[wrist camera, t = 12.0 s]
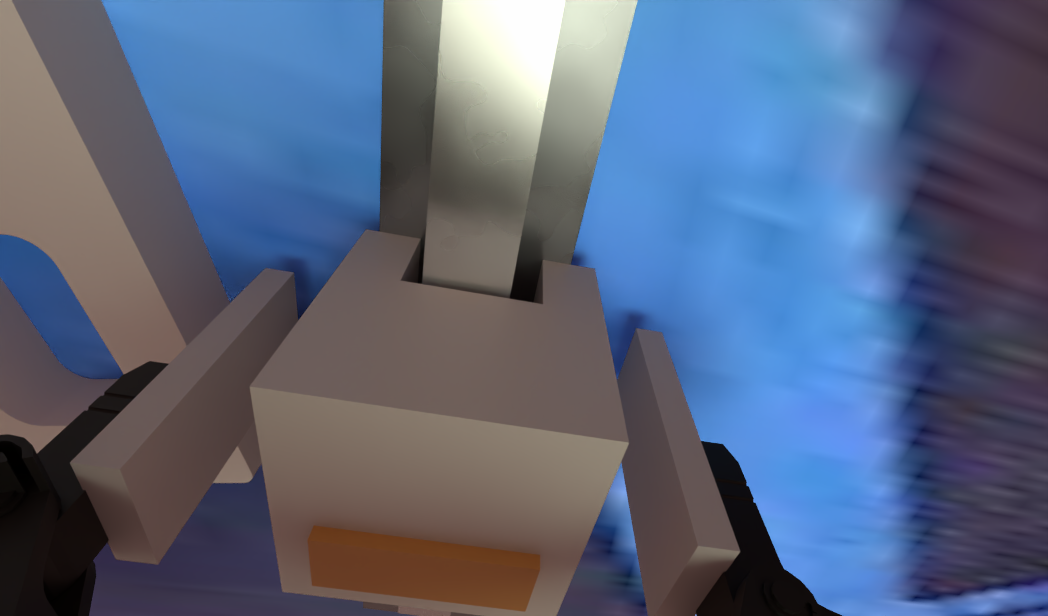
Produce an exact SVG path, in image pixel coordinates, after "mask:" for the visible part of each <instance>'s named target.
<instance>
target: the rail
mask: <svg viewBox="0 0 1048 616" xmlns="http://www.w3.org/2000/svg"><path fill="white" fill-rule="evenodd" d="M637 1H638V0H384V21H383V75H382V129H381V182H380V232H385V233H390V234H396V235H402V236H408V237H414V238H419V239H421V242H420V257H419V271H418V284H424V285H430V286H436V287H442V288H448V289H454V290H460V291H466V292H472V293H478V294H484V295H491V296H497V297H503V298H509V299H515V300H521V301H527V302H533V301H534V297H535V292H536V288H537V283H538V279H539V274H540V270H541V265H542V261H543V260H547V261H552V262H558V263H564V264H570V265H571V261H572V257H573V253H574V249H575V245H576V241H577V237H578V233H579V229H580V225H581V221H582V217H583V213H584V210H585V206H586V202H587V198H588V194H589V190H590V186H591V182H592V178H593V174H594V170H595V166H596V162H597V158H598V154H599V150H600V146H601V143H602V139H603V135H604V131H605V127H606V123H607V119H608V115H609V111H610V107H611V103H612V99H613V95H614V91H615V87H616V83H617V79H618V76H619V72H620V68H621V64H622V60H623V56H624V52H625V48H626V44H627V40H628V36H629V32H630V28H631V24H632V20H633V16H634V12H635V9H636V5H637ZM363 608H368V609H377V610H385V611H394V612H398V613H401V614H410V615H418V616H480V615H472V614H464V613H455V612H447V611H439V610H430V609H422V608H414V607H406V606H397V605H389V604H381V603H372V602H364V601H363Z"/></svg>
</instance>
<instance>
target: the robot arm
mask: <svg viewBox="0 0 1048 616" xmlns="http://www.w3.org/2000/svg"><path fill="white" fill-rule="evenodd" d="M297 322H298V312H297V301H296V289H295V278H294V272H288V271H282V270H275V269H269V268H265V269H264V270H263V271H262V272H261V273H260V274H259V275H258V276H257V277H256V278H255V279H254V280H253V281H252V282H251V283H250V284H249V285H248V286H247V287H246V288H245V289H244V290H243V291H242V292H241V293H240V294H239V295H238V296H237V297H236V298H235V299H234V300H233V301H232V302H231V303H230V304H229V305H228V306H227V307H226V308H225V309H224V310H223V311H222V312H221V313H220V314H219V315H218V316H217V317H216V318H215V319H214V320H213V321H212V322H211V323H210V324H209V325H208V326H207V327H206V328H205V329H204V330H203V331H202V332H201V333H200V334H199V335H198V336H197V337H196V338H195V339H193V340H192V341H191V342H190V343H189V344H188V345H187V346H186V347H185V348H184V349H183V350H182V351H181V352H180V353H179V354H178V355H177V356H176V357H175V358H174V359H173V360H172V361H171V362H170V363H169V364H167V363H160V362H154V361H149V362H147V363H145V364H143V365H141V366H139V367H137V368H135V369H133V370H131V371H129V372H128V373H126V374H124V375H123V376H121V377H120V378H119V379H118V380H117V381H116V382H115V383H114V384H113V385H112V386H110V387H109V388H108V389H107V390H106V391H105V392H104V395H103V396H100V397H98V398H97V399H96V400H95V401H94V402H93V403H92V404H91V405H90V406H89V407H88V410H87V411H85V410H84V411H83V412H82V413H81V414H80V415H79V416H78V417H77V418H75V419H74V420H73V421H72V422H71V423H70V424H69V425H68V426H67V427H66V428H64V429H63V430H62V431H61V432H60V433H59V434H58V435H57V436H56V437H55V438H54V439H52V440H51V441H50V442H49V443H48V444H47V445H46V446H45V447H44V448H43V449H41V450H40V451H39V452H38V453H36V451H35V449H34V447H33V445H32V444H31V443H30V442H28V441H27V440H26V439H25V438H24V437H19V436H15V435H10V434H4V435H0V616H89V612H90V607H91V601H92V596H93V590H94V585H95V579H96V570H95V564H94V562H93V560H94V558H95V557H96V556H97V555H98V553H99V552H100V551H101V549H102V548H103V547H104V546H105V544H106V543H107V542H108V544H109V546H110V548H111V550H112V552H113V554H114V556H115V559H116V560H125V561H133V562H141V563H150V564H159V562H160V561H161V559H162V558H163V556H164V555H165V553H166V552H167V550H168V549H169V547H170V546H171V544H172V543H173V541H174V540H175V538H176V537H177V535H178V534H179V532H180V531H181V529H182V528H183V526H184V525H185V523H186V522H187V520H188V519H189V517H190V516H191V514H192V513H193V511H194V510H195V508H196V507H197V506H198V504H199V503H200V501H201V500H202V498H203V497H204V495H205V494H206V492H207V491H208V489H209V488H210V486H211V485H212V483H213V482H214V480H215V479H216V477H217V476H218V474H219V473H220V471H221V470H222V468H223V467H224V465H225V464H226V462H227V461H228V459H229V458H230V456H231V455H232V453H233V452H234V450H235V449H236V447H237V446H238V444H239V443H240V441H241V440H242V438H243V437H244V435H245V434H246V432H247V431H248V429H249V428H250V426H251V425H252V424H253V422H254V421H255V418H254V412H253V405H252V399H251V393H250V387H249V386H250V385H251V384H252V382H253V381H254V380H255V378H256V377H257V376H258V374H259V373H260V372H261V370H262V369H263V368H264V366H265V365H266V364H267V362H268V361H269V359H270V358H271V357H272V355H273V354H274V353H275V351H276V350H277V349H278V347H279V346H280V345H281V343H282V342H283V341H284V339H285V338H286V337H287V335H288V334H289V332H290V331H291V330H292V328H293V327H294V326H295V324H296V323H297ZM617 384H618V389H619V394H620V399H621V404H622V409H623V414H624V419H625V424H626V429H627V434H628V439H629V444H628V447H627V449H626V451H625V454H624V456H623V459H622V461H621V462H622V467H623V473H624V479H625V485H626V491H627V496H628V502H629V508H630V514H631V520H632V525H633V531H634V537H635V543H636V548H637V554H638V560H639V566H640V572H641V577H642V583H643V589H644V595H645V600H646V606H647V612H648V616H695V614H697V616H842V615H840V614H837V613H835V612H833V611H831V610H828V609H826V608H825V607H823V606H821V605H819V604H817V602H816V600H815V598H814V596H813V594H812V593H811V592H810V591H809V590H808V588H807V587H806V586H805V585H804V584H803V583H802V582H801V581H800V580H799V579H798V578H796V577H795V576H793V575H792V574H791V573H789V572H788V571H786V570H784V568H783V566H782V564H781V563H780V560H779V558H778V555H777V553H776V551H775V548H774V546H773V544H772V541H771V539H770V536H769V534H768V532H767V529H766V527H765V525H764V522H763V520H762V517H761V515H760V513H759V510H758V508H757V506H756V503H754V502H753V496H752V494H751V491H750V489H749V487H748V486H746V483H747V482H746V480H745V477H744V475H743V472H742V470H741V468H740V465H739V463H738V462H737V460H736V459H735V458H734V457H733V456H732V455H731V453H730V452H729V451H728V450H727V449H726V447H725V446H724V445H723V444H718V443H711V442H704V441H701V440H700V437H699V435H698V432H697V429H696V426H695V423H694V421H693V418H692V415H691V412H690V410H689V407H688V404H687V401H686V398H685V396H684V393H683V390H682V387H681V384H680V382H679V379H678V376H677V373H676V370H675V368H674V365H673V362H672V359H671V357H670V354H669V351H668V348H667V345H666V343H665V340H664V337H663V334H662V332H657V331H651V330H644V329H638V328H636V330H635V332H634V335H633V338H632V341H631V343H630V346H629V349H628V352H627V355H626V357H625V360H624V363H623V366H622V368H621V371H620V374H619V377H618V379H617Z"/></svg>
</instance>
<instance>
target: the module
mask: <svg viewBox="0 0 1048 616" xmlns="http://www.w3.org/2000/svg"><path fill="white" fill-rule="evenodd" d="M420 242H421V239H419V238H414V237H408V236H402V235H396V234H390V233H385V232H379V231H373V230H367V229H366V230H365V231H364V233H363V234H362V235H361V237H360V238H359V239H358V241H357V242H356V243H355V245H354V246H353V248H352V249H351V250H350V252H349V253H348V254H347V256H346V257H345V258H344V260H343V261H342V262H341V264H340V265H339V266H338V268H337V269H336V270H335V272H334V273H333V275H332V276H331V277H330V279H329V280H328V281H327V283H326V284H325V285H324V287H323V288H322V289H321V291H320V292H319V293H318V295H317V296H316V297H315V299H314V300H313V301H312V303H311V304H310V306H309V307H308V308H307V310H306V311H305V312H304V314H303V315H302V316H301V318H300V319H299V320H298V322H297V323H296V324H295V326H294V327H293V328H292V330H291V331H290V332H289V334H288V335H287V337H286V338H285V339H284V341H283V342H282V343H281V345H280V346H279V347H278V349H277V350H276V351H275V353H274V354H273V355H272V357H271V358H270V359H269V361H268V362H267V364H266V365H265V366H264V368H263V369H262V370H261V372H260V373H259V374H258V376H257V377H256V378H255V380H254V381H253V382H252V384H251V385H250V386H249V387H250V393H251V399H252V405H253V412H254V418H255V424H256V430H257V436H258V443H259V449H260V455H261V461H262V468H263V474H264V480H265V486H266V492H267V499H268V505H269V511H270V517H271V523H272V530H273V536H274V542H275V548H276V555H277V561H278V567H279V573H280V579H281V586H282V592H289V593H297V594H306V595H314V596H322V597H331V598H339V599H347V600H356V601H364V602H372V603H381V604H389V605H397V606H406V607H414V608H422V609H430V610H439V611H447V612H455V613H464V614H472V615H480V616H556V615H557V613H558V610H559V608H560V606H561V603H562V601H563V599H564V596H565V594H566V591H567V589H568V587H569V584H570V582H571V580H572V577H573V575H574V572H575V570H576V568H577V565H578V563H579V561H580V558H581V556H582V553H583V551H584V549H585V546H586V544H587V542H588V539H589V537H590V534H591V532H592V530H593V527H594V525H595V523H596V520H597V518H598V516H599V513H600V511H601V508H602V506H603V504H604V501H605V499H606V497H607V494H608V492H609V489H610V487H611V485H612V482H613V480H614V478H615V475H616V473H617V470H618V468H619V466H620V463H621V461H622V459H623V456H624V454H625V451H626V449H627V447H628V444H629V439H628V434H627V429H626V424H625V419H624V414H623V409H622V404H621V399H620V394H619V389H618V384H617V379H616V374H615V369H614V364H613V358H612V353H611V348H610V343H609V338H608V333H607V328H606V323H605V318H604V313H603V308H602V303H601V298H600V293H599V288H598V283H597V278H596V272H595V269H593V268H587V267H581V266H576V265H570V264H564V263H558V262H552V261H547V260H543V261H542V265H541V270H540V274H539V279H538V283H537V288H536V292H535V297H534V301H533V302H527V301H521V300H515V299H509V298H503V297H497V296H491V295H484V294H478V293H472V292H466V291H460V290H454V289H448V288H442V287H436V286H430V285H424V284H418V271H419V257H420Z"/></svg>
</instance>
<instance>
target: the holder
mask: <svg viewBox="0 0 1048 616" xmlns="http://www.w3.org/2000/svg"><path fill="white" fill-rule="evenodd" d="M0 234H3V235H11V236H16V237H19V238H22V239H24V240H26V241H28V242H30V243H32V244H34V245H36V246H37V247H38V248H40V249H41V250H43V251H44V252H45V253H46V254H47V255H48V256H49V257H50V258H51V259H52V260H53V261H54V262H55V264H56V265H57V267H58V268H59V270H60V271H61V273H62V275H63V276H64V278H65V280H66V281H67V283H68V285H69V286H70V288H71V289H72V291H73V293H74V294H75V296H76V298H77V299H78V301H79V302H80V304H81V306H82V307H83V309H84V311H85V312H86V314H87V315H88V317H89V319H90V320H91V322H92V324H93V325H94V327H95V328H96V330H97V332H98V333H99V335H100V337H101V338H102V340H103V341H104V343H105V345H106V346H107V348H108V350H109V351H110V353H111V354H112V356H113V358H114V359H115V361H116V363H117V364H118V366H119V367H120V369H121V371H122V372H123V374H126V373H128V372H129V371H131V370H133V369H135V368H137V367H139V366H141V365H143V364H145V363H147V362H149V361H154V362H160V363H167V364H169V363H170V362H171V361H172V360H173V359H174V358H175V357H176V356H177V355H178V354H179V353H180V352H181V351H182V350H183V349H184V348H185V347H186V346H187V345H188V344H189V343H190V342H191V341H192V340H193V339H195V338H196V337H197V336H198V335H199V334H200V333H201V332H202V331H203V330H204V329H205V328H206V327H207V326H208V325H209V324H210V323H211V322H212V321H213V320H214V319H215V318H216V317H217V316H218V315H219V314H220V313H221V312H222V311H223V310H224V309H225V308H226V307H227V306H228V305H229V304H230V301H229V299H228V297H227V294H226V292H225V290H224V287H223V285H222V283H221V280H220V278H219V276H218V273H217V271H216V269H215V266H214V264H213V261H212V259H211V257H210V254H209V252H208V250H207V247H206V245H205V243H204V240H203V238H202V236H201V233H200V231H199V229H198V226H197V224H196V222H195V219H194V217H193V214H192V212H191V210H190V207H189V205H188V203H187V200H186V198H185V196H184V193H183V191H182V189H181V186H180V184H179V182H178V179H177V177H176V175H175V172H174V170H173V167H172V165H171V163H170V160H169V158H168V156H167V153H166V151H165V149H164V146H163V144H162V142H161V139H160V137H159V135H158V132H157V130H156V128H155V125H154V123H153V120H152V118H151V116H150V113H149V111H148V109H147V106H146V104H145V102H144V99H143V97H142V95H141V92H140V90H139V88H138V85H137V83H136V80H135V78H134V76H133V73H132V71H131V69H130V66H129V64H128V62H127V59H126V57H125V55H124V52H123V50H122V48H121V45H120V43H119V41H118V38H117V36H116V33H115V31H114V29H113V26H112V24H111V22H110V19H109V17H108V15H107V12H106V10H105V8H104V5H103V3H102V1H101V0H0ZM117 380H118V379H89V378H85V377H82V376H79V375H77V374H75V373H73V372H71V371H70V370H68V369H67V368H65V367H64V366H63V365H62V364H61V363H60V362H59V361H58V359H57V358H56V357H55V355H54V354H53V352H52V351H51V349H50V348H49V346H48V345H47V344H46V342H45V341H44V339H43V338H42V336H41V335H40V333H39V332H38V331H37V329H36V328H35V326H34V325H33V323H32V322H31V321H30V319H29V318H28V316H27V315H26V313H25V312H24V310H23V309H22V308H21V306H20V305H19V303H18V302H17V300H16V299H15V297H14V296H13V295H12V293H11V292H10V290H9V289H8V287H7V286H6V285H5V283H4V282H3V280H2V279H1V277H0V435H4V434H10V435H15V436H19V437H24V438H25V439H26V440H27V441H28V442H30V443H31V444H32V445H33V447H34V449H35V451H36V453H38V452H39V451H40V450H41V449H43V448H44V447H45V446H46V445H47V444H48V443H49V442H50V441H51V440H52V439H54V438H55V437H56V436H57V435H58V434H59V433H60V432H61V431H62V430H63V429H64V428H66V427H67V426H68V425H69V424H70V423H71V422H72V421H73V420H74V419H75V418H77V417H78V416H79V415H80V414H81V413H82V412H83V411H84V410H85V411H87V410H88V407H89V406H90V405H91V404H92V403H93V402H94V401H95V400H96V399H97V398H98V397H100V396H103V395H104V392H105V391H106V390H107V389H108V388H109V387H110V386H112V385H113V384H114V383H115V382H116V381H117ZM261 463H262V461H261V455H260V449H259V443H258V436H257V430H256V424H255V421H254V422H253V424H252V425H251V426H250V428H249V429H248V431H247V432H246V434H245V435H244V437H243V438H242V440H241V441H240V443H239V444H238V446H237V447H236V449H235V450H234V452H233V453H232V455H231V456H230V458H229V459H228V461H227V462H226V464H225V465H224V467H223V468H222V470H221V471H220V473H219V474H218V476H217V477H216V479H215V480H214V482H213V483H247V482H249V481H251V480H252V478H253V476H254V475H255V473H256V471H257V470H258V468H259V466H260V465H261Z"/></svg>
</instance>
